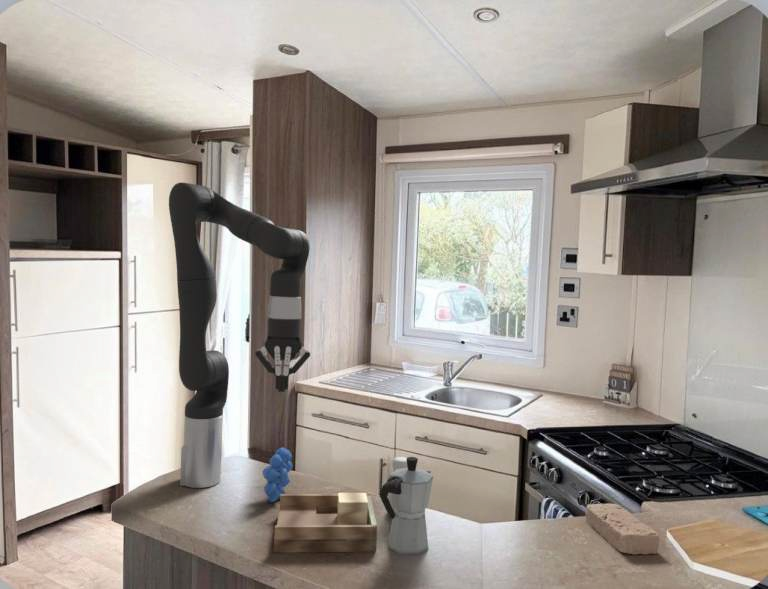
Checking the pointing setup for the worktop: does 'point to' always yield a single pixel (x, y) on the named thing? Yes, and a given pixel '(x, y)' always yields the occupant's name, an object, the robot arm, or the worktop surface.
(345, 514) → the birch block
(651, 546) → the brick
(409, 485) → the coffee maker
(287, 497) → the box
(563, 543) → the worktop surface
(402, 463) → the salt shaker
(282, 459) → the grapes
